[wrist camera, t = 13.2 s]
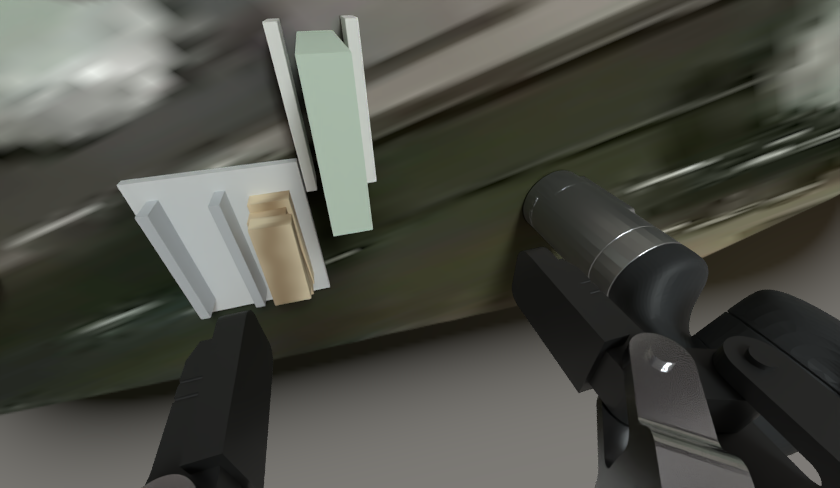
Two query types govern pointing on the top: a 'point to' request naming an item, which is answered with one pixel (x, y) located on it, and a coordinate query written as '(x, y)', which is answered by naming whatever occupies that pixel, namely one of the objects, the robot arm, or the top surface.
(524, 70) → the top surface
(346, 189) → the sage board
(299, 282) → the offcut stack
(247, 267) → the grey rack
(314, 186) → the white stand
